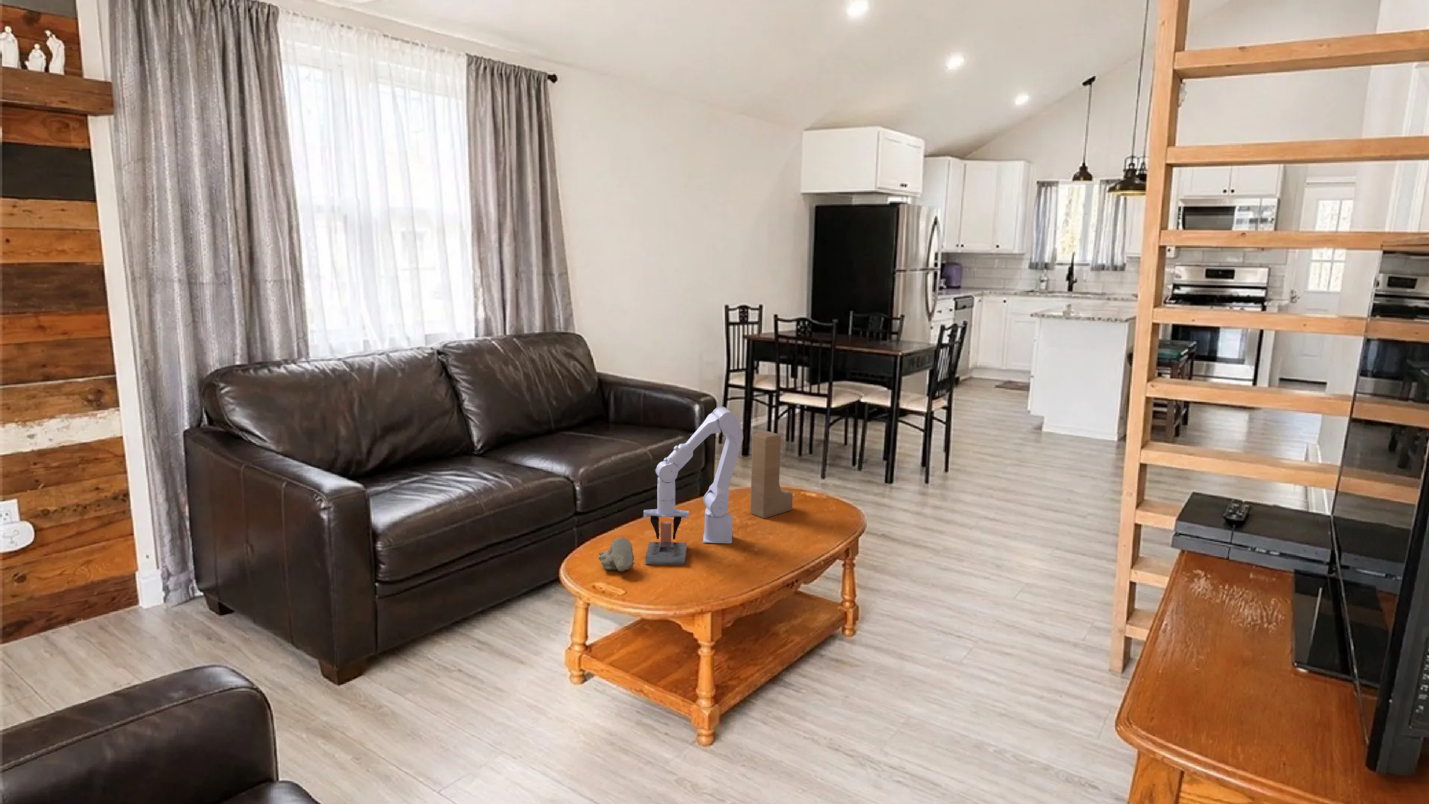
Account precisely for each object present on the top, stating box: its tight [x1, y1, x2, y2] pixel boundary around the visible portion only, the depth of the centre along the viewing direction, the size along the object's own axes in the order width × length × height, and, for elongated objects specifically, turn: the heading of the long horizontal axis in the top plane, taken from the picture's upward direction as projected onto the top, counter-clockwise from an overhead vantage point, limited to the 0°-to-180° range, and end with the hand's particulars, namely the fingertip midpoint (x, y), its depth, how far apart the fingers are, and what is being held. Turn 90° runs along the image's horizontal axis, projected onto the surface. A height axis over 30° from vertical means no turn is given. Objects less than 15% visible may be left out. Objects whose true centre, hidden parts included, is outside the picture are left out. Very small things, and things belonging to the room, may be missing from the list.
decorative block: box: [750, 430, 794, 519], centre depth 294 cm, size 8×15×30 cm, turn 132°
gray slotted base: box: [644, 541, 688, 566], centre depth 254 cm, size 12×12×2 cm
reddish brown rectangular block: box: [660, 521, 672, 542], centre depth 265 cm, size 3×3×7 cm
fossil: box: [597, 536, 635, 573], centre depth 244 cm, size 14×10×10 cm
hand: (666, 538), depth 265 cm, fingers open, 5 cm apart
